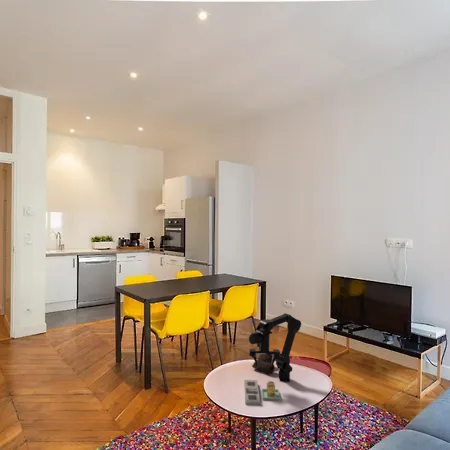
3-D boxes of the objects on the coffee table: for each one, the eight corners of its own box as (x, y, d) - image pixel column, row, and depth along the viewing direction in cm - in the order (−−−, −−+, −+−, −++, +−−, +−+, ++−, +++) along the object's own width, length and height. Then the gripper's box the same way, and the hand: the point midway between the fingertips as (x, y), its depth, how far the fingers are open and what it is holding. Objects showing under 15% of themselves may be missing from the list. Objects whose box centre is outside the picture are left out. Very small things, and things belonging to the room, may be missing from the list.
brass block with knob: (274, 393, 210) (274, 381, 210) (275, 397, 205) (275, 384, 205) (266, 392, 210) (266, 380, 210) (267, 396, 205) (267, 384, 205)
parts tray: (278, 391, 213) (278, 389, 212) (280, 400, 203) (280, 397, 202) (261, 391, 213) (261, 388, 213) (262, 399, 203) (262, 397, 203)
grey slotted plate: (257, 384, 222) (257, 380, 222) (259, 404, 198) (259, 399, 198) (244, 383, 222) (244, 379, 222) (245, 403, 198) (245, 399, 198)
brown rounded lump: (268, 364, 233) (278, 353, 245) (249, 360, 242) (259, 350, 254) (270, 378, 235) (280, 367, 247) (251, 374, 243) (261, 363, 255)
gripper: (278, 337, 227) (277, 361, 227) (249, 336, 228) (248, 360, 228) (280, 343, 216) (280, 369, 216) (249, 342, 216) (249, 368, 217)
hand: (264, 366), depth 219 cm, fingers open, 9 cm apart
